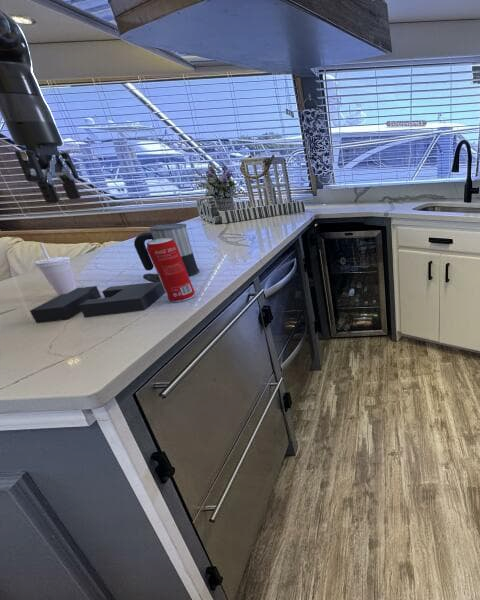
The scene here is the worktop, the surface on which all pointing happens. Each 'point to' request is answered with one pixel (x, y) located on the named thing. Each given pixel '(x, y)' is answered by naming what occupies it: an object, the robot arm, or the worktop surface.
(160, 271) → the beverage can
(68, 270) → the smoothie
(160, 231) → the milk frother
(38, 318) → the pad
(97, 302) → the notch pad
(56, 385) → the worktop surface
